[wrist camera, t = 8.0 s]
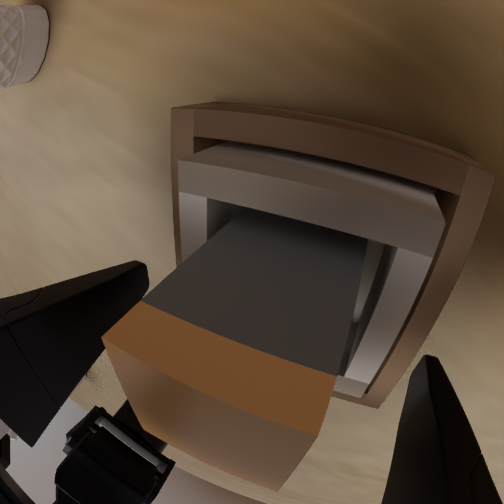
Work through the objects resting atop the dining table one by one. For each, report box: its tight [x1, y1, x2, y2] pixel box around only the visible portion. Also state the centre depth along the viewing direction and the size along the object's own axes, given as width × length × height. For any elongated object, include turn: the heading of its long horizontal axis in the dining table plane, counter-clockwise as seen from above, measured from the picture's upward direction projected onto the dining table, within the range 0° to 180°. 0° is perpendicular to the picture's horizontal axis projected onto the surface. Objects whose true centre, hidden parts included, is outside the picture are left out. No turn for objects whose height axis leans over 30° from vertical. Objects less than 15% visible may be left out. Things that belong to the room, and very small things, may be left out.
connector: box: [101, 207, 368, 492], centre depth 9 cm, size 4×4×8 cm
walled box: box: [171, 102, 496, 409], centre depth 12 cm, size 12×11×5 cm
